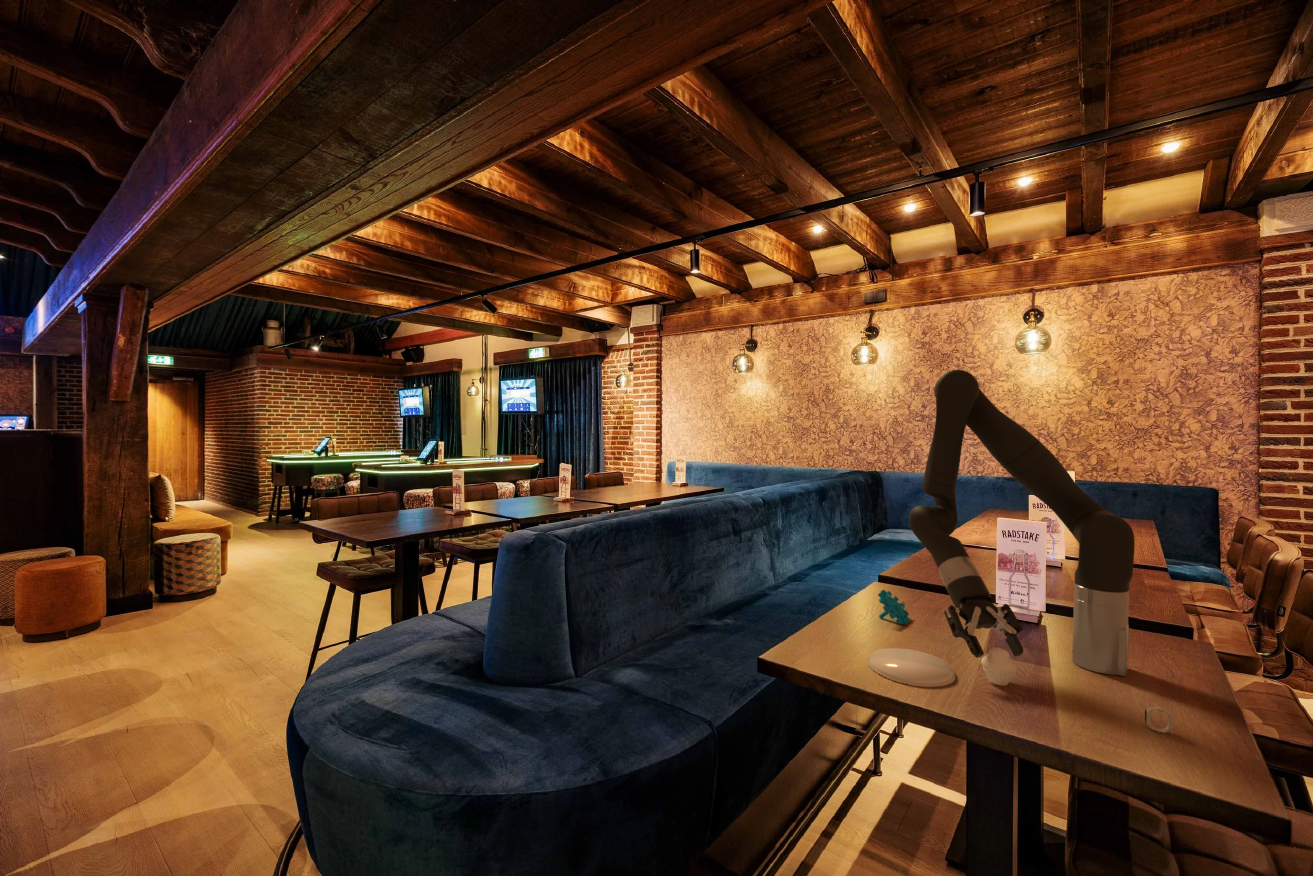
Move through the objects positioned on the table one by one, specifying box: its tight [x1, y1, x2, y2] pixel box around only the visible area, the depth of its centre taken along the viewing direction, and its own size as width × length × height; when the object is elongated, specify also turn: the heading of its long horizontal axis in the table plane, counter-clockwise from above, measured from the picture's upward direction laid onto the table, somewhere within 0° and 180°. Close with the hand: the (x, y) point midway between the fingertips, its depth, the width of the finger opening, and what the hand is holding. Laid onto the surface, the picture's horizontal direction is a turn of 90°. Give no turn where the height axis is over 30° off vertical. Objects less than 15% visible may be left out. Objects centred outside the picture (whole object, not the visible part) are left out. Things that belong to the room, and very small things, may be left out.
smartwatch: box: [1144, 705, 1175, 734], centre depth 96 cm, size 4×2×4 cm, turn 54°
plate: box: [867, 647, 956, 688], centre depth 119 cm, size 17×17×1 cm
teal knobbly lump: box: [877, 589, 911, 625], centre depth 150 cm, size 11×6×10 cm
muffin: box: [980, 647, 1018, 687], centre depth 114 cm, size 6×6×7 cm
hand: (999, 655), depth 113 cm, fingers open, 8 cm apart
